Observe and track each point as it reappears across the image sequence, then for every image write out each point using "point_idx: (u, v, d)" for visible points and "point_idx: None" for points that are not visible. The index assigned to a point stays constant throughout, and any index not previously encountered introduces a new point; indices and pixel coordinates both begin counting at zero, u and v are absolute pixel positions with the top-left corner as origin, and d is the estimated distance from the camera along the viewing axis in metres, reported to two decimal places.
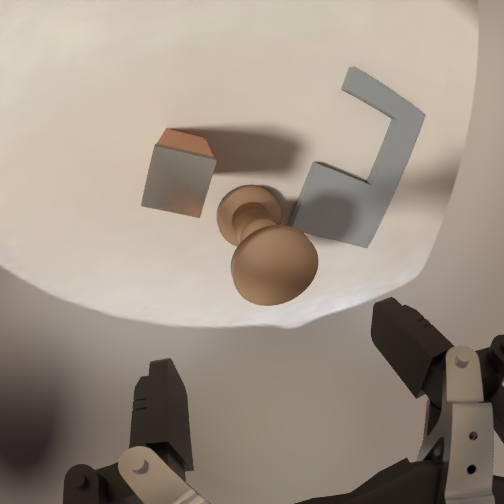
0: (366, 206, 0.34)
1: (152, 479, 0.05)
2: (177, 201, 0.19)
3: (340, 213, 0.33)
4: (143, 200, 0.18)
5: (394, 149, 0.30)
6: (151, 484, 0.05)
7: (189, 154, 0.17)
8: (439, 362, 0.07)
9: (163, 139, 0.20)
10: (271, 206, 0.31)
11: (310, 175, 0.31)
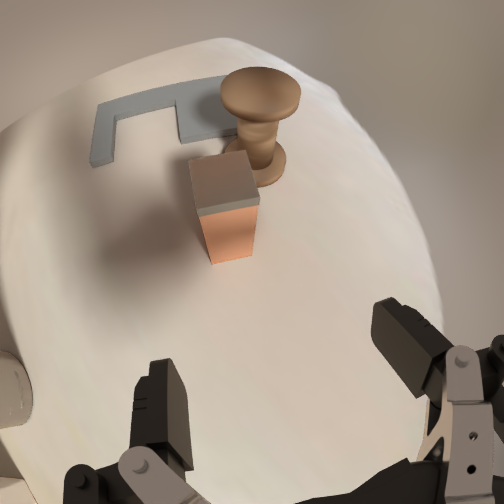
0: (193, 93, 0.35)
1: (152, 479, 0.05)
2: (239, 170, 0.19)
3: (210, 104, 0.35)
4: (253, 197, 0.18)
5: (137, 103, 0.35)
6: (151, 484, 0.05)
7: (192, 180, 0.19)
8: (439, 362, 0.07)
9: None
10: (234, 147, 0.32)
11: (192, 138, 0.33)
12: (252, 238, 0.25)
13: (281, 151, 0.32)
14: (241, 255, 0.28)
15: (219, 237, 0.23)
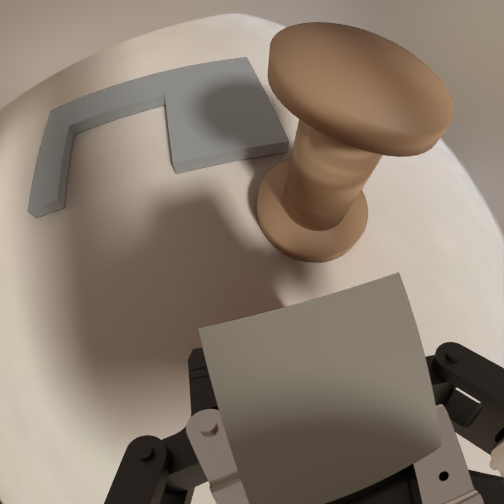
0: (194, 84, 0.21)
1: (217, 443, 0.06)
2: (393, 367, 0.05)
3: (224, 101, 0.20)
4: (426, 451, 0.04)
5: (104, 104, 0.20)
6: (226, 443, 0.06)
7: (225, 423, 0.04)
8: None
9: None
10: (275, 183, 0.18)
11: (195, 163, 0.19)
12: None
13: None
14: None
15: None
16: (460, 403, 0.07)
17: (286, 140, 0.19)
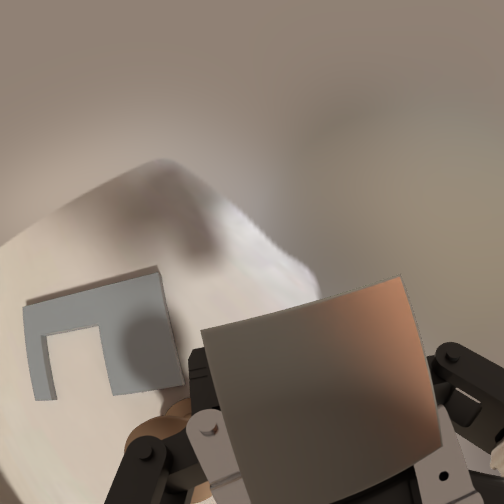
0: (117, 313, 0.28)
1: (217, 443, 0.06)
2: (394, 368, 0.05)
3: (139, 339, 0.27)
4: (427, 452, 0.04)
5: (59, 321, 0.27)
6: (225, 443, 0.06)
7: (228, 425, 0.04)
8: None
9: None
10: None
11: (126, 393, 0.26)
12: None
13: None
14: None
15: None
16: (460, 403, 0.07)
17: (181, 384, 0.26)
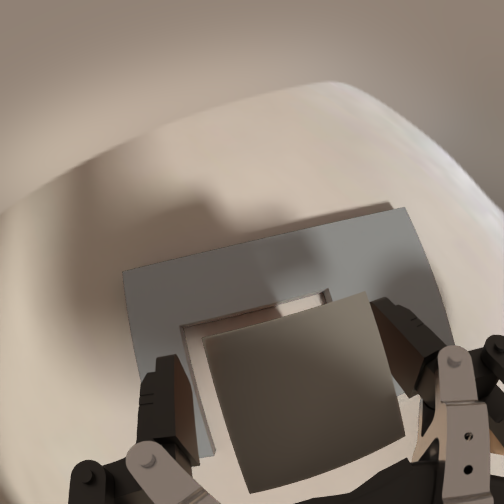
0: (362, 267, 0.17)
1: (159, 474, 0.05)
2: (358, 368, 0.06)
3: (402, 305, 0.17)
4: (391, 440, 0.05)
5: (232, 292, 0.17)
6: (159, 478, 0.05)
7: (224, 412, 0.06)
8: (431, 362, 0.07)
9: None
10: None
11: None
12: None
13: None
14: None
15: None
16: (498, 399, 0.06)
17: None
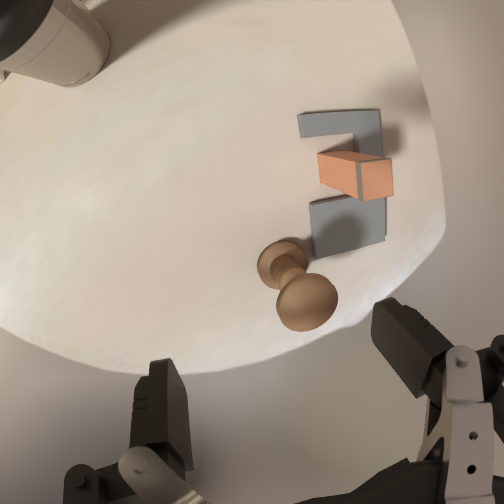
0: (367, 212, 0.40)
1: (152, 479, 0.05)
2: (380, 191, 0.28)
3: (348, 229, 0.40)
4: (363, 198, 0.28)
5: None
6: (151, 484, 0.05)
7: (378, 160, 0.27)
8: (439, 362, 0.07)
9: (344, 158, 0.30)
10: (294, 251, 0.40)
11: (311, 214, 0.39)
12: (334, 187, 0.34)
13: None
14: (321, 175, 0.37)
15: (338, 167, 0.31)
16: (503, 400, 0.06)
17: (317, 258, 0.41)
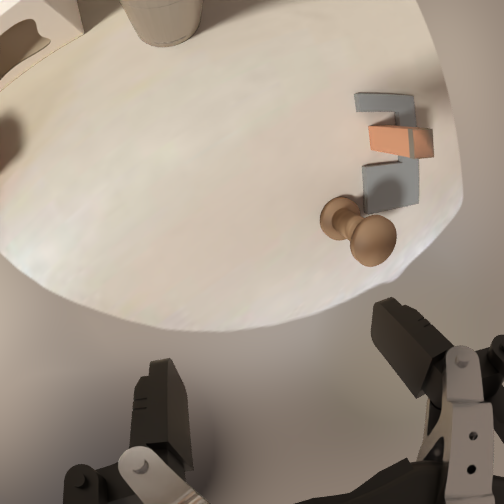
0: (405, 177, 0.44)
1: (152, 479, 0.05)
2: (425, 152, 0.33)
3: (392, 190, 0.45)
4: (414, 156, 0.32)
5: None
6: (151, 484, 0.05)
7: (423, 129, 0.31)
8: (439, 362, 0.07)
9: (397, 127, 0.34)
10: (351, 206, 0.44)
11: (364, 175, 0.43)
12: (386, 151, 0.39)
13: (343, 237, 0.46)
14: (372, 143, 0.41)
15: (391, 134, 0.36)
16: (503, 400, 0.06)
17: (368, 213, 0.46)
